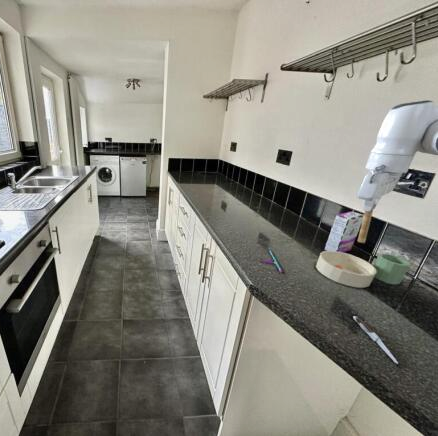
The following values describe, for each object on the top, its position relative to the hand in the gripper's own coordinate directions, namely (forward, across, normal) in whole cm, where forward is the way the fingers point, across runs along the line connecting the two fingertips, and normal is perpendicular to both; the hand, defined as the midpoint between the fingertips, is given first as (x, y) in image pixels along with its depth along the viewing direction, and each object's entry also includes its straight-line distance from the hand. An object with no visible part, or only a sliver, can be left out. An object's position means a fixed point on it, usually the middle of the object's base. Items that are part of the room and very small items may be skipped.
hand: (368, 209), depth 71 cm
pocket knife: (+25, -25, -14) cm, 38 cm away
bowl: (+25, +1, 0) cm, 25 cm away
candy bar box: (+25, +21, +8) cm, 34 cm away
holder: (+25, +12, -9) cm, 29 cm away
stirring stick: (+11, 0, -1) cm, 11 cm away
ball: (+23, -1, +1) cm, 23 cm away
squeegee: (+24, -13, +19) cm, 33 cm away
